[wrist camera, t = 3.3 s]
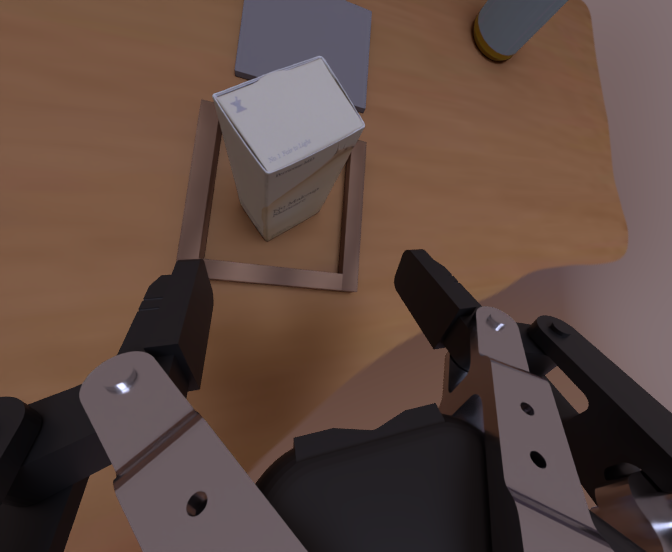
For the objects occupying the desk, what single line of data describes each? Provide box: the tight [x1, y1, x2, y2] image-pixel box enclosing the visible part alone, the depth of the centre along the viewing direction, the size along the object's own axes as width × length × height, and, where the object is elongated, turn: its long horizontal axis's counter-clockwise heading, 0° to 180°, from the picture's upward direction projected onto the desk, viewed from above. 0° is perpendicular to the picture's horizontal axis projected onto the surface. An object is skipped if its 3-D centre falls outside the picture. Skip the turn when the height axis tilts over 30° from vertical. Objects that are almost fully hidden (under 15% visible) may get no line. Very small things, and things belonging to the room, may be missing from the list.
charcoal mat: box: [235, 0, 372, 113], centre depth 25 cm, size 13×12×1 cm
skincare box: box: [212, 56, 365, 241], centre depth 17 cm, size 6×4×12 cm
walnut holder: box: [176, 99, 366, 292], centre depth 22 cm, size 15×15×2 cm
